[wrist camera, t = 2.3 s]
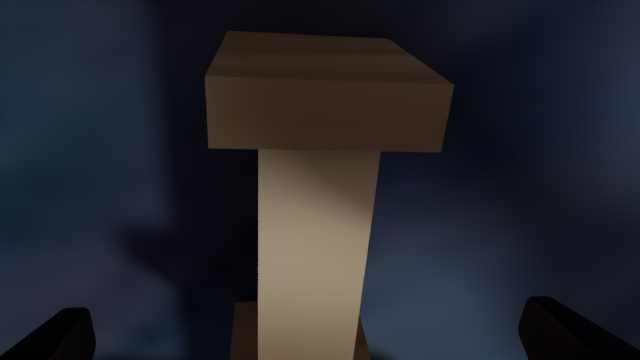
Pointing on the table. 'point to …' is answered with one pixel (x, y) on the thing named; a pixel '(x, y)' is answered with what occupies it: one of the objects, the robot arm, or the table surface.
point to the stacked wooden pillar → (316, 174)
